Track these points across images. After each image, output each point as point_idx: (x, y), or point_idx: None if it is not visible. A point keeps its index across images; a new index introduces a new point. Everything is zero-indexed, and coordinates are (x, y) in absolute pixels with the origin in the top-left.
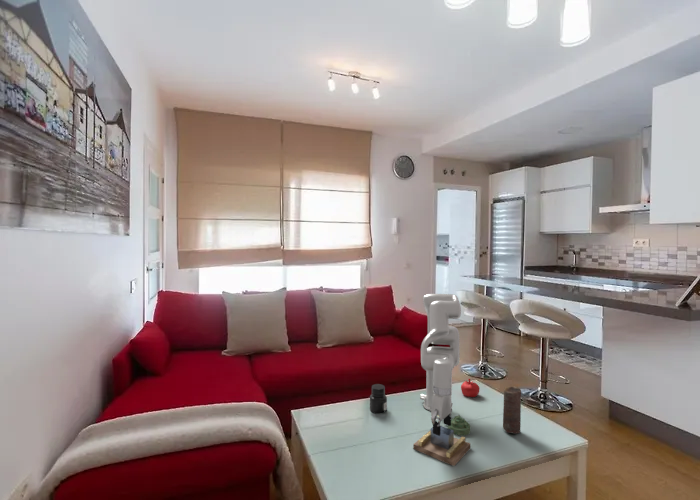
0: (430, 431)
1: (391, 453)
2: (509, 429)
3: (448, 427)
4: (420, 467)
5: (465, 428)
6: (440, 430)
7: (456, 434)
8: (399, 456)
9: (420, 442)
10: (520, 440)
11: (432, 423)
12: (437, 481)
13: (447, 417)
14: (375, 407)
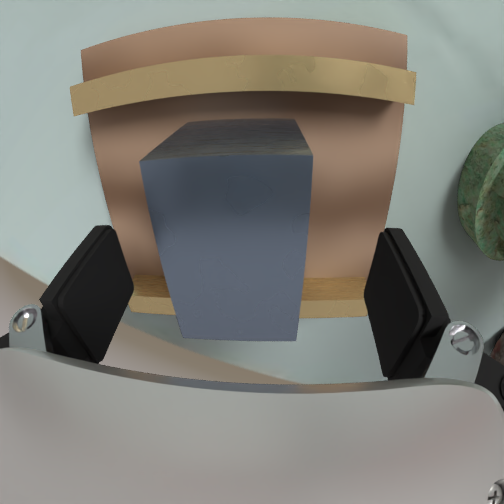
0: (294, 64)
1: (4, 28)
2: (498, 355)
3: (495, 140)
4: (26, 192)
5: (495, 246)
6: (112, 328)
7: (459, 192)
8: (8, 68)
9: (77, 105)
10: None
11: (12, 321)
12: (39, 277)
13: (393, 348)
14: None
